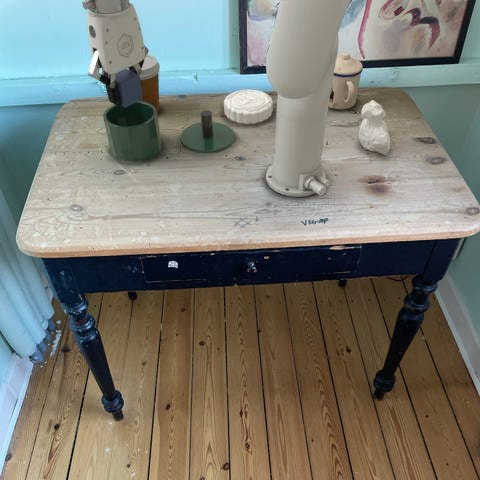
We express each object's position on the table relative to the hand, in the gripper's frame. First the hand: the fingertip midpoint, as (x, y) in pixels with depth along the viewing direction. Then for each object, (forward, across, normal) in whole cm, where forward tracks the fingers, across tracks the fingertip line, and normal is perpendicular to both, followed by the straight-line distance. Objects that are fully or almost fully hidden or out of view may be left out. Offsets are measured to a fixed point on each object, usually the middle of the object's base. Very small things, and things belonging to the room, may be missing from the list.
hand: (126, 97), depth 103 cm
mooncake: (+12, +29, -10) cm, 33 cm away
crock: (+12, 0, 0) cm, 12 cm away
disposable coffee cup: (+12, +13, +10) cm, 21 cm away
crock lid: (+11, +13, -10) cm, 20 cm away
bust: (+12, +35, -41) cm, 55 cm away
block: (0, 0, 0) cm, 0 cm away
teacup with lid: (+12, +47, -25) cm, 54 cm away
